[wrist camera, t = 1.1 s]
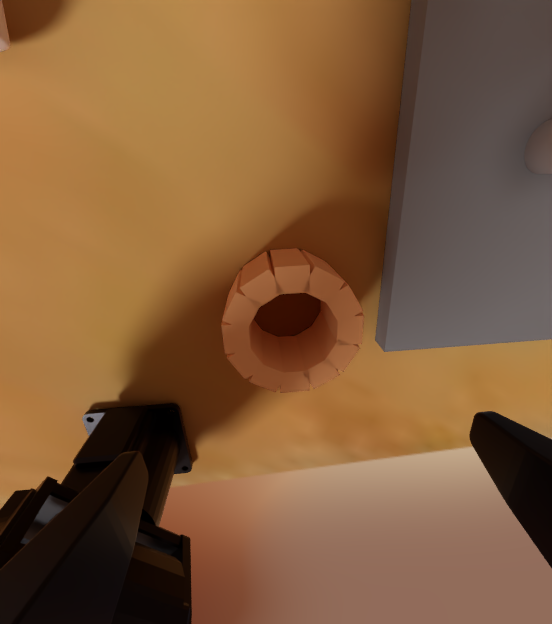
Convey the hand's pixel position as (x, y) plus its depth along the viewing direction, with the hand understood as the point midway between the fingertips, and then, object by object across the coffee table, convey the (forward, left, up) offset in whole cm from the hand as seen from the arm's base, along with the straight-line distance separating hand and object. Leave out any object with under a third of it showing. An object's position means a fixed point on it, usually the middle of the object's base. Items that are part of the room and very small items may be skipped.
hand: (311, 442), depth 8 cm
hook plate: (+6, -13, -11) cm, 18 cm away
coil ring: (0, 0, -11) cm, 11 cm away
